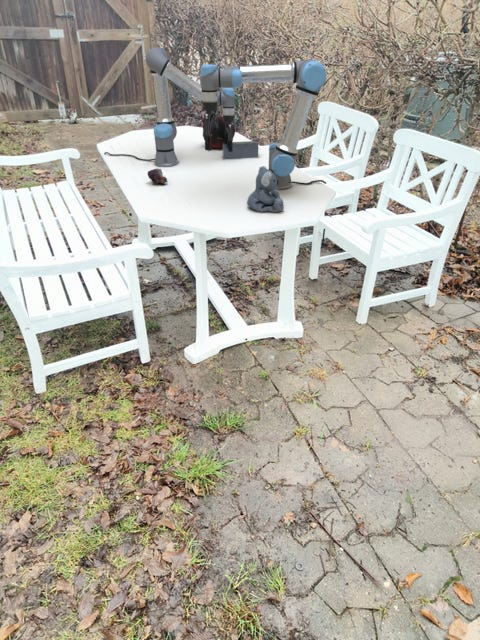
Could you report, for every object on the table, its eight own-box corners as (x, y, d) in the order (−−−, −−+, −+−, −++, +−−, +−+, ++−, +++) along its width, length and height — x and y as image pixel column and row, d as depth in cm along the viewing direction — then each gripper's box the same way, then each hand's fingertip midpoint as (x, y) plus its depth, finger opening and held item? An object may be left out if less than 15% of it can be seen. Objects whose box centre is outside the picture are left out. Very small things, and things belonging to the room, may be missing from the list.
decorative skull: (200, 122, 333) (198, 119, 310) (231, 115, 333) (232, 111, 309) (207, 152, 340) (206, 151, 317) (237, 145, 339) (238, 143, 316)
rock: (162, 181, 267) (146, 183, 263) (160, 166, 263) (144, 168, 259) (169, 183, 258) (152, 185, 254) (167, 168, 254) (150, 170, 250)
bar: (223, 159, 303) (223, 144, 297) (222, 157, 307) (222, 142, 301) (258, 157, 306) (258, 142, 300) (256, 155, 310) (256, 140, 305)
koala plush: (284, 213, 221) (286, 172, 209) (248, 214, 219) (248, 174, 208) (279, 200, 235) (281, 162, 224) (245, 202, 234) (245, 163, 223)
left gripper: (237, 118, 280) (237, 153, 292) (231, 111, 301) (231, 144, 313) (225, 118, 279) (225, 153, 291) (220, 111, 299) (220, 144, 311)
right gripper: (210, 105, 207) (212, 153, 219) (223, 97, 227) (224, 141, 239) (194, 105, 208) (197, 152, 221) (209, 97, 229) (211, 140, 241)
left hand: (228, 149), depth 302 cm, fingers open, 13 cm apart
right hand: (211, 146), depth 230 cm, fingers open, 13 cm apart
